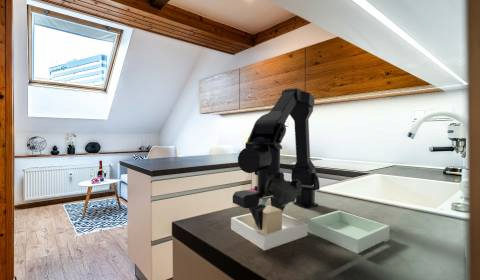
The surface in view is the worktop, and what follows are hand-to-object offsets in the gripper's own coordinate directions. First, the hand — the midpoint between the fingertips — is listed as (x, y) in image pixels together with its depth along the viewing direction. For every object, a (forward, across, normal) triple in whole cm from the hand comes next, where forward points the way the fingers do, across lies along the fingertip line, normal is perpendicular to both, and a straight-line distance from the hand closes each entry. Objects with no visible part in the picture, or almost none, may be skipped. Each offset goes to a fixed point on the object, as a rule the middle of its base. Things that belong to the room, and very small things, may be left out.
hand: (268, 227), depth 63 cm
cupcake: (+2, +10, +18) cm, 21 cm away
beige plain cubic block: (+1, 0, 0) cm, 1 cm away
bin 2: (+2, +16, -12) cm, 20 cm away
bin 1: (+2, 0, 0) cm, 2 cm away
